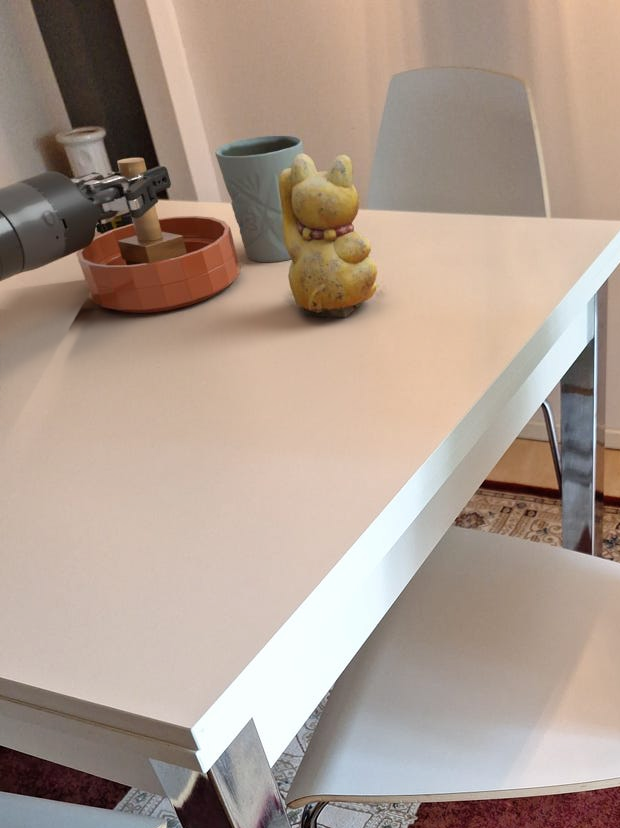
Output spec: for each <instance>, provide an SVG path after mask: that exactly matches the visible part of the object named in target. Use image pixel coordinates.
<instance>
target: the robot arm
mask: <svg viewBox="0 0 620 828" xmlns="http://www.w3.org/2000/svg"><path fill="white" fill-rule="evenodd" d="M146 170H147V169H146ZM131 184H133V185H131ZM130 185H131V186H130ZM171 186H172V182H171V178H170V175H169V172H168V168H167V167H166V166H161V165H158V166H156V167H152V168H150V169H148V170H147V171H145V172H143V173H140V174H139V173H138V174H135V175H133V176H130V177H127V178H126V177H123V176H121V175H120V171H116V172H115V171H109V170H108V171H106V172H105V173H103V174H101V173H100V172H96V171H94V172H93V171H92V172H91V173H88V174H84V175H80V176H75V177H71V178H69V177H68V176H66V175H64V174H63V173H61V172H58V171H53V170H52V171H50V170H49V171H45V172H42V173H40V174H36V175H33V176H31V177H28V178H25V179H22V180H20V181H17V182H15V183H11V184H9V185H6V186H2V187H0V282H3V281H5V280H7V279H9V278H12V277H14V276H17V275H20V274H22V273H27V272H31V271H35V270H38V269H40V268H42V267H45V266H47V265H49V264H52V263H54V262H56V261H58V260H60V259H63V258H66V257H67V256H70V255H73V254H74V253H75V254H76V253H77V252H78V251H79V250H81V249H84V248H86V247H88V246H89V245H90V244H91V243H92V241H93V239H94V237H96V231H97V230H96V229H97V228H96V225H97V224H105V223H108V222H111V221H113V220H114V218H115V217H117V216H120V215H123V214H126V213H128V212H130V215H131V217H132V218H140V217H141V216H143V215H144V214H145V213H146V212H147V211H148V210H149V209H151V208H152V207H153V206H154V205H155V206H156V204H157V203H159V199H158V196H157V194H158V193H161V192H163V191H165V190H167V189H170V188H171Z"/></svg>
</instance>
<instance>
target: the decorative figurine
mask: <svg viewBox="0 0 620 828" xmlns="http://www.w3.org/2000/svg"><path fill="white" fill-rule="evenodd" d="M353 165H354V164H353V161H352V159H351V158H350V156H348V155H347V154H340V155H338V156H336V157H335V158H334V159H333V161H332V162H331V163H330V165H329V168H328V170H327V171H318V170H317V168H316V165H315V162H314V161H313V159H312V158H311V157H310V156H309V155H308V154H305V153H304V152H303V153H301V154H298V155H297V156H295V158H294V159H293V163H292V166H291V168H287V169H284V170H283V171H282V172H281V173H280V175H279V182H278V183H279V192H280V199H281V207H282V226H283V236H284V241H285V245H286V249H287V251H288V253H289V255H290V257H291V259H290V260H291V263H290V264H289V268H288V275H287V276H288V282H289V287H290V290H291V293H292V296H293V298H294V302H295V304H296V305H297V306H298V307H300V308H303V309H304V316H307V317H308V316H309V317H310V316H314V317H315V316H317V317H331V318H347V316H349V315H350V314H351V313H352V312H353V311H354V310H355V309H359V308H360V307H361V305H363V304H364V302H366V301H368V300H370V299H371V298H372V297H373V296H374V294H375V293H376V291H377V287H378V285H377V283H376V280H377V276H378V268H377V264H376V262H375V261H374V259H373V258H372V257H371V256H369V255H370V253H371V251H372V247H371V243H370V240H369V239H368V238H366V237H365V236H364V235H363V236H362V235H360V233H357V232H356V231H355V230H354V229H355V226H354V224H353V222H354V220H355V219H356V218H357V216H358V214H359V213H358V212H359V208H360V195H359V194H358V192H357V189H356V187H355V186H354V182H353V181H354V166H353Z"/></svg>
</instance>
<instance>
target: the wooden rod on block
mask: <svg viewBox="0 0 620 828" xmlns="http://www.w3.org/2000/svg"><path fill="white" fill-rule="evenodd" d="M117 166H118V170H119V171H120V175H121V176H123V177H126V178H127V177H130V176H133V175H135V174H138V173H139V174H140V173H143V172H145V171H147V165H146V162H145V159H144V158H143V157H129V158H123V159H119V160H117ZM119 171H118V172H119ZM131 185H133V184H131ZM131 185H130V186H131ZM156 207H157V206H156V204H155V205H154V206H153V207H152V208H151V209H149V210H148V211H147V212H146V213H145V214H144V215H143V216H141V217H140V218H132V221H133V225H134V229H135V232H136V236H133V237H130V238H126V239H123V240H119V241H118V245H119V249H120V252H121V256H122V259H124V260H125V261H126V265H136V264H144V263H152V262H158V261H162V260H167V259H171V258H175V257H179V256H182V255H184V254H187V252H186V248H185V244H184V239H183V236H182V235H177V234H171V233H166V232H161V228H160V224H159V220H158V219H159V216H158V211H157V208H156Z"/></svg>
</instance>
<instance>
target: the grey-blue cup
mask: <svg viewBox="0 0 620 828" xmlns="http://www.w3.org/2000/svg"><path fill="white" fill-rule="evenodd" d="M214 153H215V157H216V160H217V163H218V166H219V168H220V173H221V175H222V179H223V183H224V184H225V187H226V190H227V193H228V195H229V197H230V200H231V202H230V203H231V205H230V206H231V207H232V211H233V214H234V218H235V221H236V224H237V225H238V228H239V234H240V237H241V241H242V244H243V248H244V252H245V255H246V257H247V259H249V260H251V261H254V262H258V263H277V262H283V261H288V260H289V261H290V260H292V259H291V257H290V255H289V253H288V251H287V249H286V245H285V241H284V236H283V226H282V207H281V199H280V192H279V183H278V182H279V175H280V173H281V172H282V171H283V170H284V169H287V168H291V166H292V163H293V159H294V158H295V156H297V155H298V154H301V153H303V154H304V147H303V141H302V139H301V138H300V137H298V136H292V135H263V136H257V137H256V136H255V137H249V138H244V139H243V138H242V139H239V140H235V141H233V142H229V143H226V144H223V145H221V146H219V147H218V148H217V149H216V150H215V152H214Z"/></svg>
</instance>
